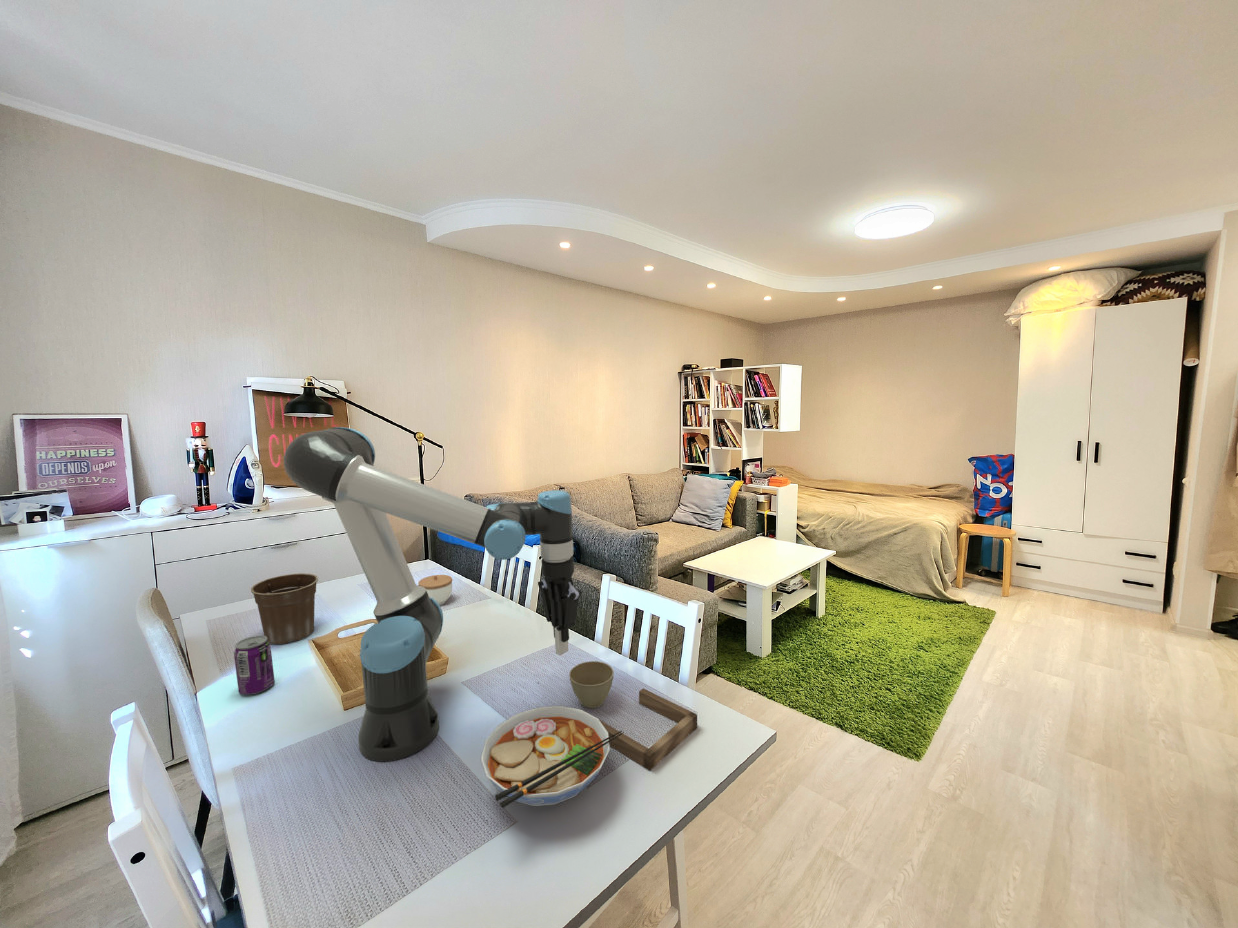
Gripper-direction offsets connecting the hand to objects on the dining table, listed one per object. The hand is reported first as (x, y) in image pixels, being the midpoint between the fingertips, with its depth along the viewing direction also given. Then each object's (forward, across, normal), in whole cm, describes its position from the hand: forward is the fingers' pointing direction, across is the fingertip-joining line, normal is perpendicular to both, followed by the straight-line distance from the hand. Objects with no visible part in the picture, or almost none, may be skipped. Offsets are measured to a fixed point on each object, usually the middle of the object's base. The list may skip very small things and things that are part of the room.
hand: (562, 652), depth 120 cm
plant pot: (+7, +80, +35) cm, 88 cm away
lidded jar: (+8, +69, -4) cm, 69 cm away
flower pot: (+9, -10, 0) cm, 13 cm away
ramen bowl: (+8, -21, +22) cm, 32 cm away
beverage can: (+7, +55, +49) cm, 74 cm away
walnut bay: (+9, -25, 0) cm, 27 cm away
